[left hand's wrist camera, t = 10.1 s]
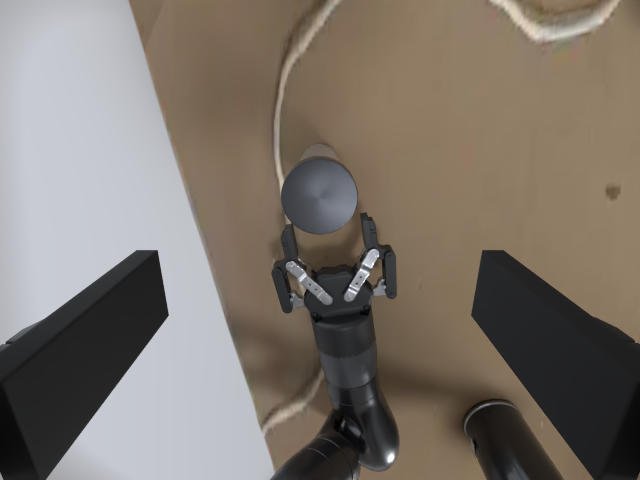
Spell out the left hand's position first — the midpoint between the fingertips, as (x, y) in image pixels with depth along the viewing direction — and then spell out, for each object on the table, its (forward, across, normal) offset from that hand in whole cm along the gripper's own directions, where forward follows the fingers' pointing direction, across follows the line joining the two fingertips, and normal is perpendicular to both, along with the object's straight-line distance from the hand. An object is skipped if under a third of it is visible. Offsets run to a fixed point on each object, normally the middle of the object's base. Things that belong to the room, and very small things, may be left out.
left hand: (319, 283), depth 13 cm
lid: (+14, 0, 0) cm, 14 cm away
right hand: (+26, -1, +5) cm, 26 cm away
